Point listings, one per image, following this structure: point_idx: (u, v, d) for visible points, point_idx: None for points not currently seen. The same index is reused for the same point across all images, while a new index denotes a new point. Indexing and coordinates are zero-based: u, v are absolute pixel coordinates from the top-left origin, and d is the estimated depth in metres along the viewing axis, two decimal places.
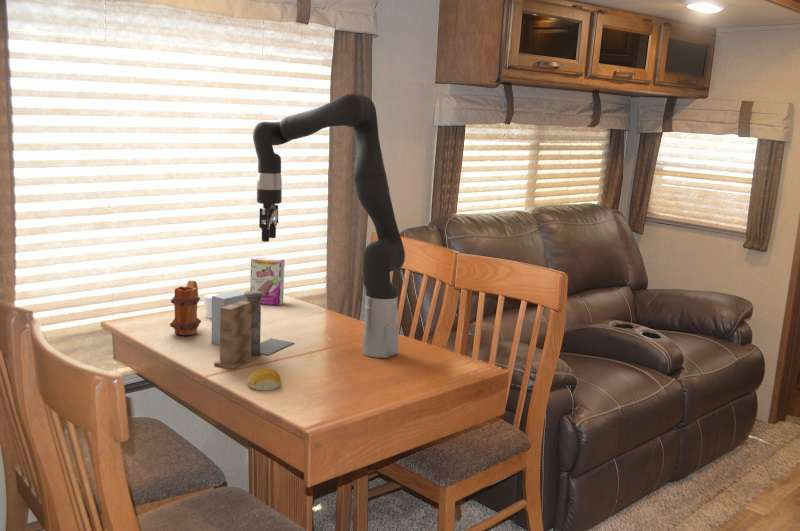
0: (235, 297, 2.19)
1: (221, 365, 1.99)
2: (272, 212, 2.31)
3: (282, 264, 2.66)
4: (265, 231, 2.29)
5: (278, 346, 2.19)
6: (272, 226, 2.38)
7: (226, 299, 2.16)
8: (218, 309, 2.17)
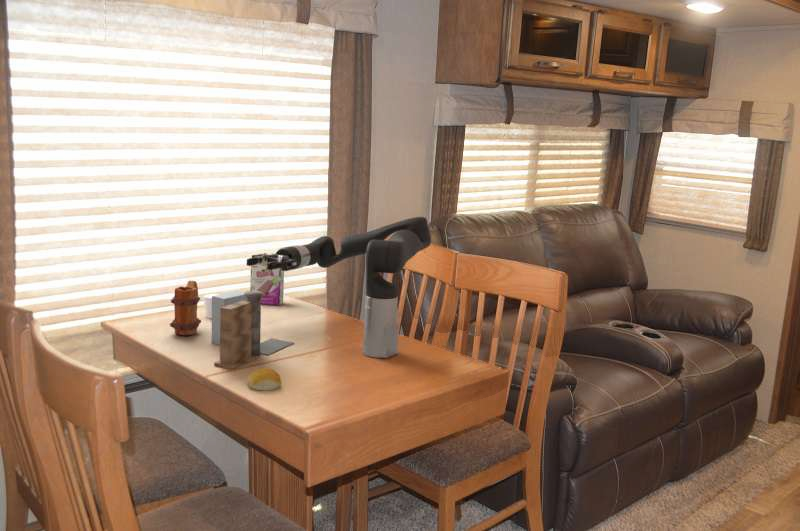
0: (235, 297, 2.19)
1: (221, 365, 1.99)
2: None
3: None
4: (277, 266, 2.28)
5: (278, 346, 2.19)
6: (256, 261, 2.34)
7: (226, 299, 2.16)
8: (218, 309, 2.17)
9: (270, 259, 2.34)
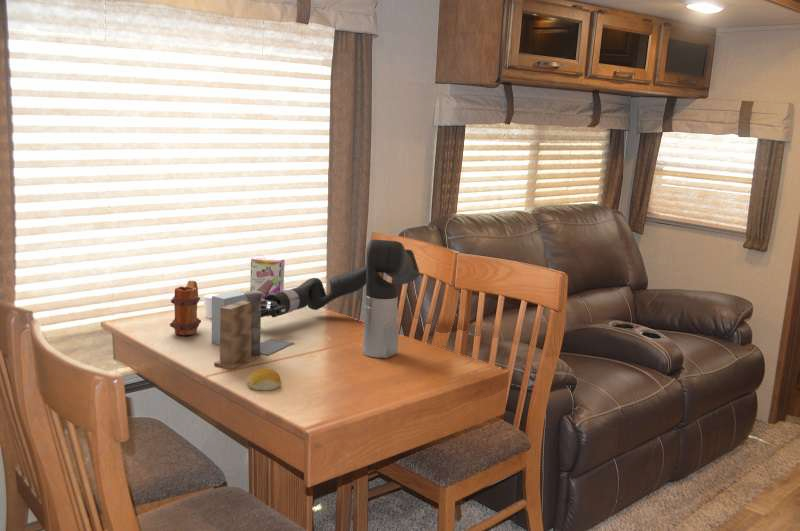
0: (235, 297, 2.19)
1: (221, 365, 1.99)
2: None
3: (282, 264, 2.66)
4: (266, 314, 2.27)
5: (278, 346, 2.19)
6: None
7: (226, 299, 2.16)
8: (218, 309, 2.17)
9: None
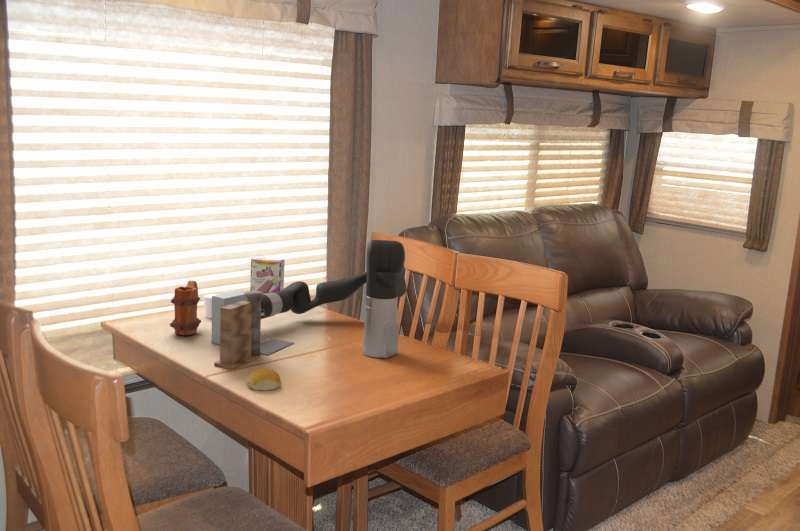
0: (235, 297, 2.19)
1: (221, 365, 1.99)
2: None
3: (282, 264, 2.66)
4: None
5: (278, 346, 2.19)
6: None
7: (226, 299, 2.16)
8: (218, 309, 2.17)
9: None
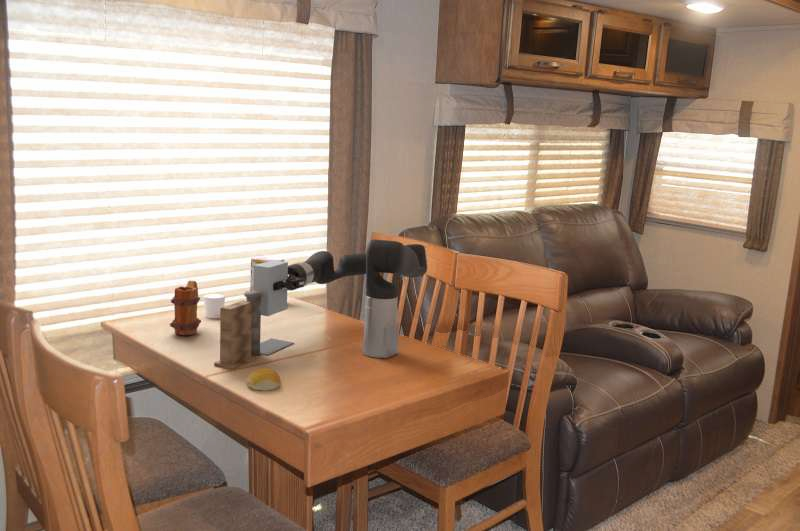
0: (277, 266, 2.13)
1: (221, 365, 1.99)
2: None
3: None
4: (283, 286, 2.14)
5: (278, 346, 2.19)
6: None
7: (270, 268, 2.10)
8: (262, 279, 2.10)
9: None
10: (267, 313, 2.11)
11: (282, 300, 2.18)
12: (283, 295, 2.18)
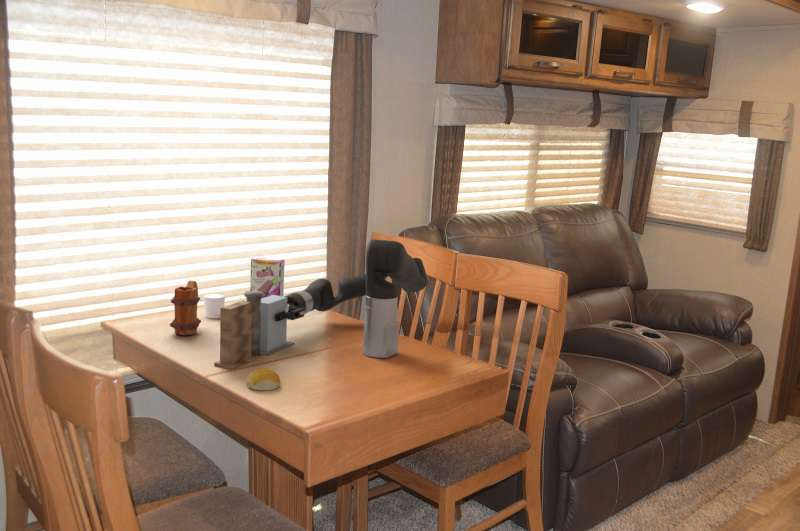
0: (276, 301, 2.15)
1: (221, 365, 1.99)
2: None
3: (282, 264, 2.66)
4: (285, 316, 2.16)
5: None
6: None
7: (270, 304, 2.12)
8: (261, 315, 2.12)
9: None
10: (266, 348, 2.13)
11: (282, 335, 2.20)
12: (282, 330, 2.20)
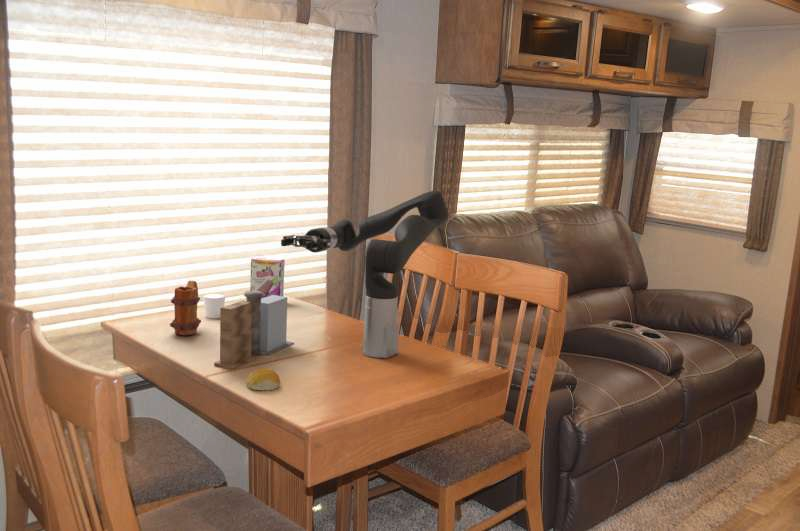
0: (276, 301, 2.15)
1: (221, 365, 1.99)
2: None
3: (282, 264, 2.66)
4: (314, 246, 2.27)
5: None
6: (289, 242, 2.31)
7: (270, 304, 2.12)
8: (261, 315, 2.12)
9: (303, 240, 2.32)
10: (266, 348, 2.13)
11: (282, 335, 2.20)
12: (282, 330, 2.20)
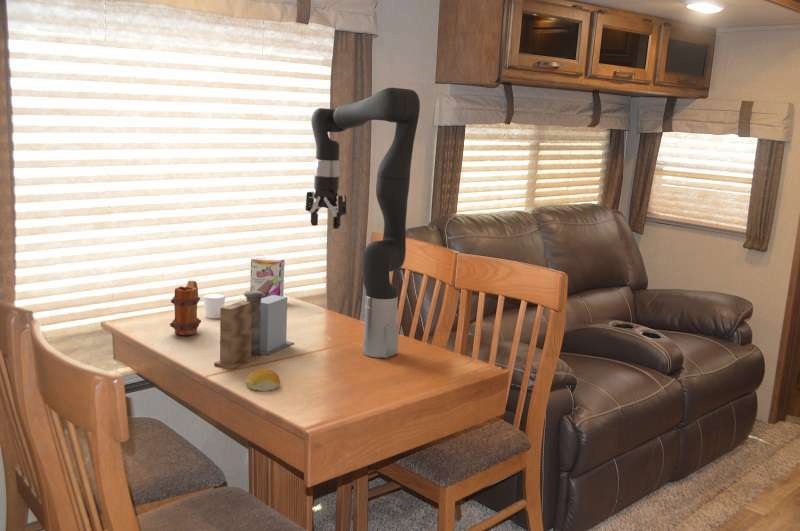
0: (276, 301, 2.15)
1: (221, 365, 1.99)
2: None
3: (282, 264, 2.66)
4: (339, 218, 2.31)
5: None
6: (315, 213, 2.35)
7: (270, 304, 2.12)
8: (261, 315, 2.12)
9: None
10: (266, 348, 2.13)
11: (282, 335, 2.20)
12: (282, 330, 2.20)
